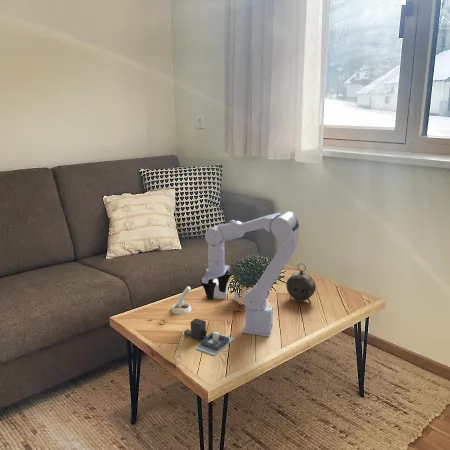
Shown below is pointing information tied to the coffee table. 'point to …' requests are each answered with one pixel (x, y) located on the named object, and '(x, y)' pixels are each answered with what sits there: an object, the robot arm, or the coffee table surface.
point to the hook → (182, 303)
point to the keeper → (215, 341)
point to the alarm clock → (301, 286)
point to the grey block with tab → (204, 335)
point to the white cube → (217, 293)
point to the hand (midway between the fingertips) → (216, 295)
